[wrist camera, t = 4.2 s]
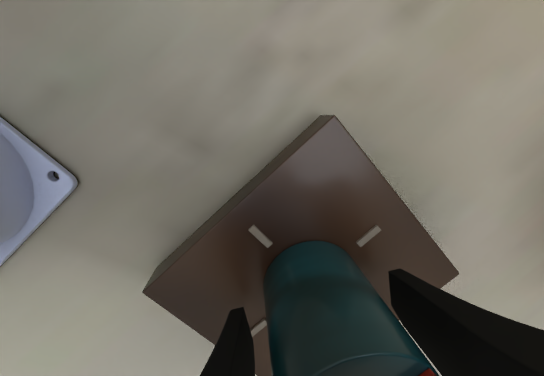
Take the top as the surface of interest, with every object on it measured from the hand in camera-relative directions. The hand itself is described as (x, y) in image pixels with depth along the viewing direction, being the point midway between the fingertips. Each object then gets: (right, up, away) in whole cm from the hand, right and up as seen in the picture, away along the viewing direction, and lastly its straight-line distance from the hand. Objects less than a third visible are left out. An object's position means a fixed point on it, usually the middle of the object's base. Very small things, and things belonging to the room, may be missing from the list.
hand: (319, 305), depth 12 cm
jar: (0, 0, +2) cm, 2 cm away
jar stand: (0, +1, +4) cm, 4 cm away
